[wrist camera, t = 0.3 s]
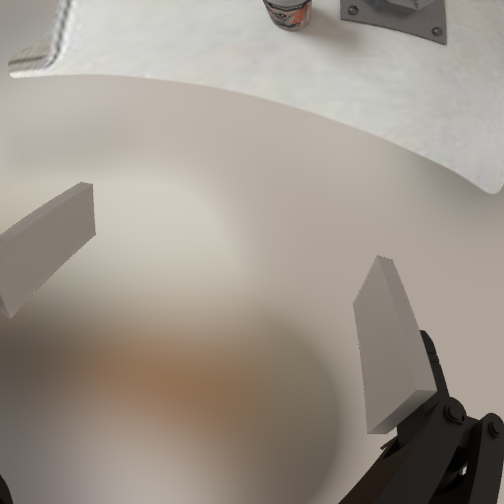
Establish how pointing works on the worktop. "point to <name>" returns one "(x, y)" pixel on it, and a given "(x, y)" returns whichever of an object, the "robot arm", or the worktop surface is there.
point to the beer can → (289, 13)
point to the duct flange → (400, 16)
